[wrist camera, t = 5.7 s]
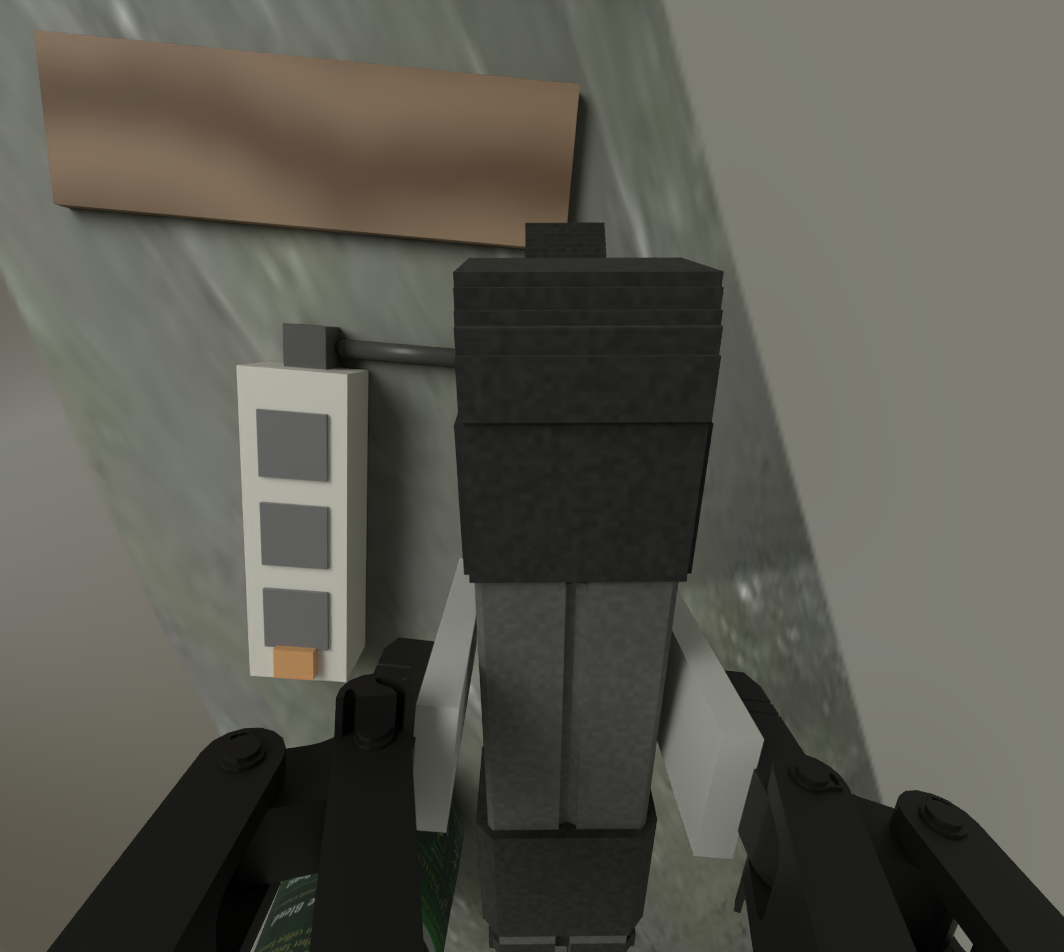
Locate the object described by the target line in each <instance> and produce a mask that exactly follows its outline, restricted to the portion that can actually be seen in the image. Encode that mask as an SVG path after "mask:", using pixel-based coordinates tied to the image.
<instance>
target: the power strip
mask: <svg viewBox="0 0 1064 952" xmlns="http://www.w3.org/2000/svg"><path fill="white" fill-rule="evenodd" d="M283 353H284V363H281V362H263V363H253V364H243V365H237V388H238V410H239V433H240V456H241V478H242V501H243V524H244V546H245V569H246V592H247V614H248V637H249V660H250V676H264V677H274V678H287V679H302V680H323V681H337V682H347V680H348V678H349V676H350V674H351V672H352V670H353V668H354V666H355V665H356V663H357V661H358V659H359V657H360V655H361V653H362V651H363V649H364V647H365V612H366V531H367V450H368V370H364V369H353V368H341V367H339V355H340V356H341V357H345V358H356V359H368V360H379V361H391V362H403V363H415V364H427V365H439V366H451V367H455V349H452V348H441V347H429V346H417V345H405V344H394V343H382V342H370V341H359V340H347V339H343V340H340V341H339V327H328V326H317V325H305V324H289V323H283Z"/></svg>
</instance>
